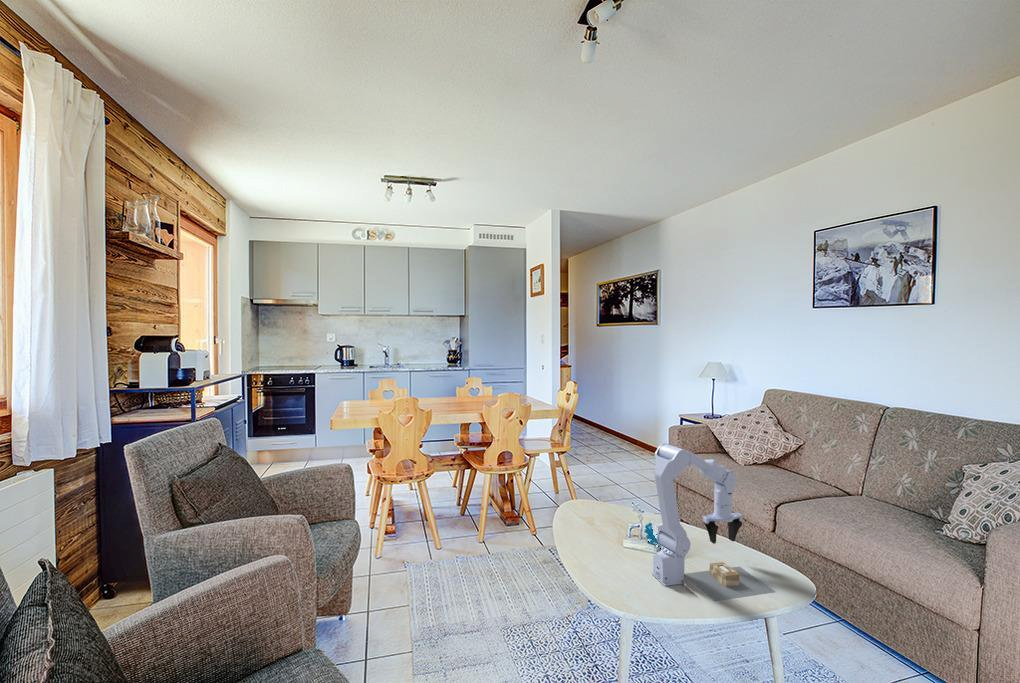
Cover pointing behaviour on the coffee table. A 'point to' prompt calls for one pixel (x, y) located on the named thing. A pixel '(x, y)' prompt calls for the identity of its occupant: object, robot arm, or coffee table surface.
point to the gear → (650, 534)
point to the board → (720, 592)
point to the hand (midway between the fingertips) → (722, 541)
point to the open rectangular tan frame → (724, 574)
